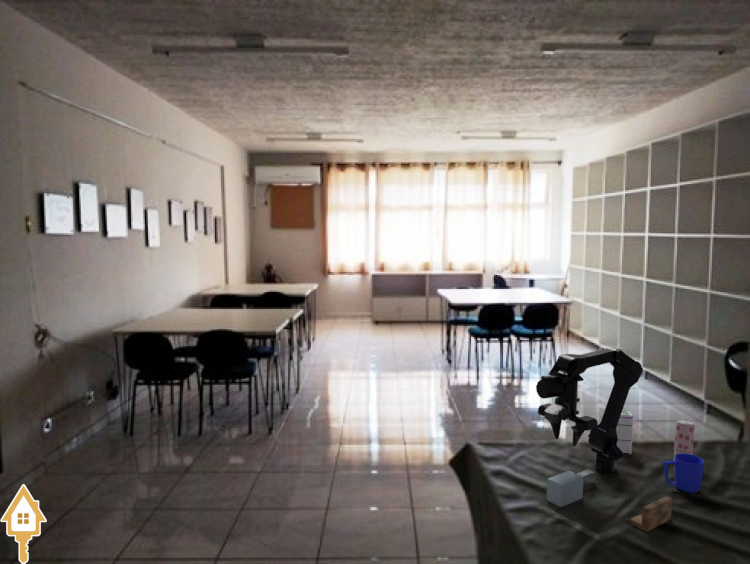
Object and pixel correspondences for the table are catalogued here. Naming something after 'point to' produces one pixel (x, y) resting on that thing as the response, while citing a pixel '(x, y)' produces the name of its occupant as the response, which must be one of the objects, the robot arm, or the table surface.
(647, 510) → the shelf
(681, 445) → the beverage can
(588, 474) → the grey rectangular block
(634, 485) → the table surface
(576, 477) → the blue-grey rectangular block
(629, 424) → the syrup box
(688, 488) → the mug
